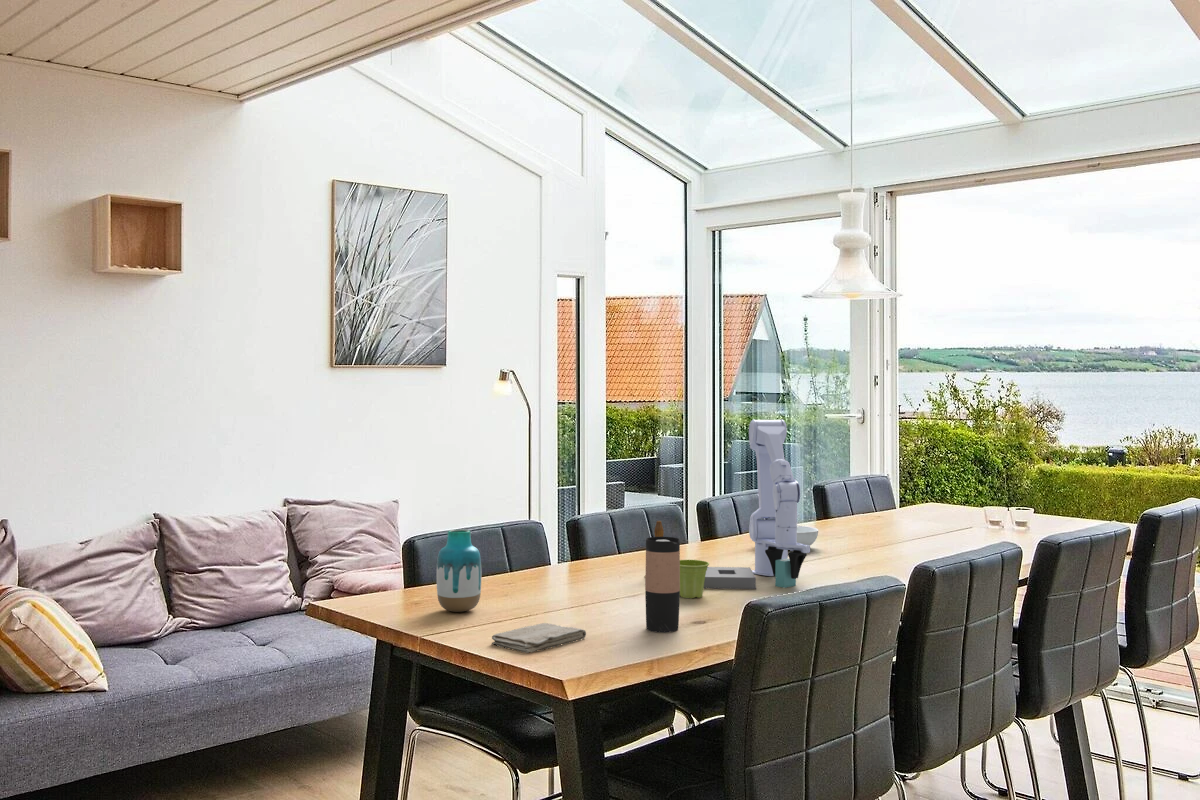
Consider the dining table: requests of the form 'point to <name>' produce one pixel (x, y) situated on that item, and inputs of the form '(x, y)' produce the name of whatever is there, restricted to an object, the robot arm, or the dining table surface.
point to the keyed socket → (730, 578)
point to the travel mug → (662, 584)
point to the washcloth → (537, 637)
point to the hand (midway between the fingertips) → (785, 576)
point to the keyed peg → (783, 574)
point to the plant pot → (692, 578)
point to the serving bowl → (806, 535)
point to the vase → (458, 573)
